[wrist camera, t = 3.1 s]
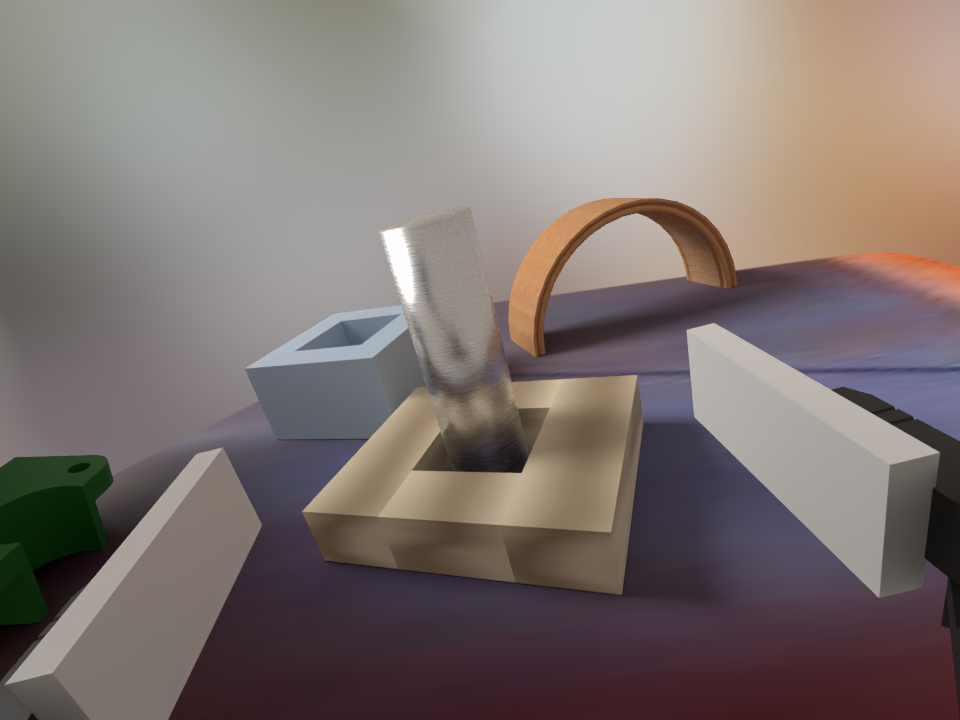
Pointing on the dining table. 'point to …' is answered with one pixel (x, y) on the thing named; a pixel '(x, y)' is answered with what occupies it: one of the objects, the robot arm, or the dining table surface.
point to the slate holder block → (339, 376)
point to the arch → (558, 242)
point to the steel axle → (457, 339)
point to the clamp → (45, 524)
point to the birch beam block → (496, 493)
